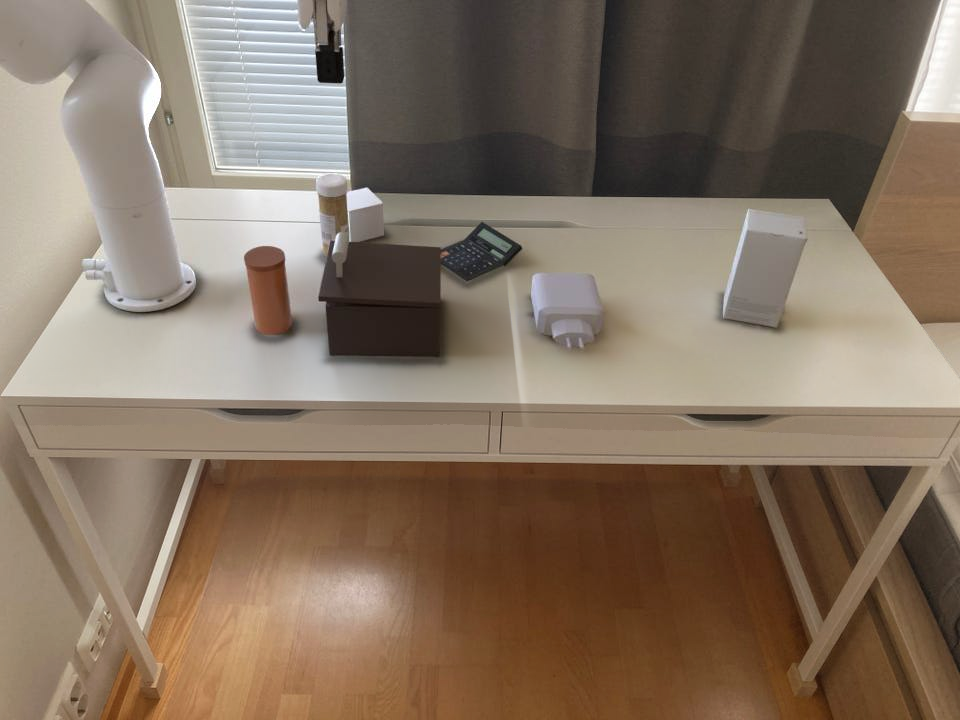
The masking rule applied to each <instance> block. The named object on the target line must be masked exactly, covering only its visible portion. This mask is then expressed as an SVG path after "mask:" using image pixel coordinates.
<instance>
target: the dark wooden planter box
mask: <svg viewBox="0 0 960 720" xmlns="http://www.w3.org/2000/svg"><path fill="white" fill-rule="evenodd" d="M325 318H326V329H327V338H328V339H327V341H328V352H329V356H351V357H352V356H354V357H355V356H356V357H407V358H410V357H411V358H413V357H414V358H440V336H441V335H440V334H441V307H440V308H431V307H413V306H395V305H377V304H358V303H340V302H325Z"/></svg>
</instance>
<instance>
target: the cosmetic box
mask: <svg viewBox="0 0 960 720" xmlns="http://www.w3.org/2000/svg"><path fill="white" fill-rule="evenodd" d="M808 239H809V237H808V230H807V224H806V217H805V216H799V215H793V214H792V215H791V214H787V213H779V212H772V211H766V210H760V209H759V210H758V209H754V208H748V209H747V212H746V216H745V219H744V223H743V226H742V230H741V234H740V238H739V241H738V244H737V248H736V251H735V256H734V259H733V263H732V266H731V270H730V274H729V277H728V281H727V285H726V287H725V288H726V289H725V291H724V295H723V305H722V306H723V309H722V318H723V319H725V320H732V321H736V322H743V323H748V324H755V325H759V326H765V327H770V328H775V329H777V328H778V326H779V323H780V321H781V318H782V314H783V310H784V309H785V306H786V302H787V300H788V296H789V293H790V290H791V288H792V284H793V281H794V280H795V279H794V278H795V276H796V272H797V269H798V266H799V263H800V261H801V257H802V254H803V252H804V248H805V246H806V244H807V241H808Z"/></svg>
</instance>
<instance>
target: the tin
mask: <svg viewBox="0 0 960 720" xmlns="http://www.w3.org/2000/svg"><path fill="white" fill-rule="evenodd" d="M243 263H244V265H245V269H246V276H247V282H248V288H249V294H250V301H251V308H252V313H253V314H252V315H253V321H254V326H255V329H256V331H258V332H259V333H261V334H263V335H268V336H275V335H280V334H283V333H286V332H287V331H288V330H290V329H291V328H292V325H293V318H292V309H291V301H290V294H289V292H290V291H289V284H288V275H287V267H286V254H285V252H284V250H283V249H281V248H279V247H277V246H273V245H261V246H255V247H253V248H250V249H249V250H248V251H246V252H245V253H244V255H243Z"/></svg>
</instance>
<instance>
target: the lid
mask: <svg viewBox="0 0 960 720" xmlns="http://www.w3.org/2000/svg"><path fill="white" fill-rule="evenodd" d="M441 249H442V248H441V247H440V246H426V245H411V244H410V245H409V244H394V243H379V242H378V243H377V242H364V241H360V242H349V236H348V234H346V233H344V232H340V233H338V234H337V235H336V238H335V241H330V243H329V248H328V253H327V257H325V262H324V268H323V273H322V277H321V282H320V288H319V291H318V296H317V298H318V299H317V300H318V302H325V303H326V302H340V303H358V304H377V305H395V306H413V307H431V308H440V309H441V305H442V304H441V302H442V301H441V298H442V297H441V295H442V294H441V291H442V290H441V288H442V287H441V286H442V284H441V283H442V281H441V279H442V275H441V273H442V270H441V269H442V267H441V265H442V264H441Z"/></svg>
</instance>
